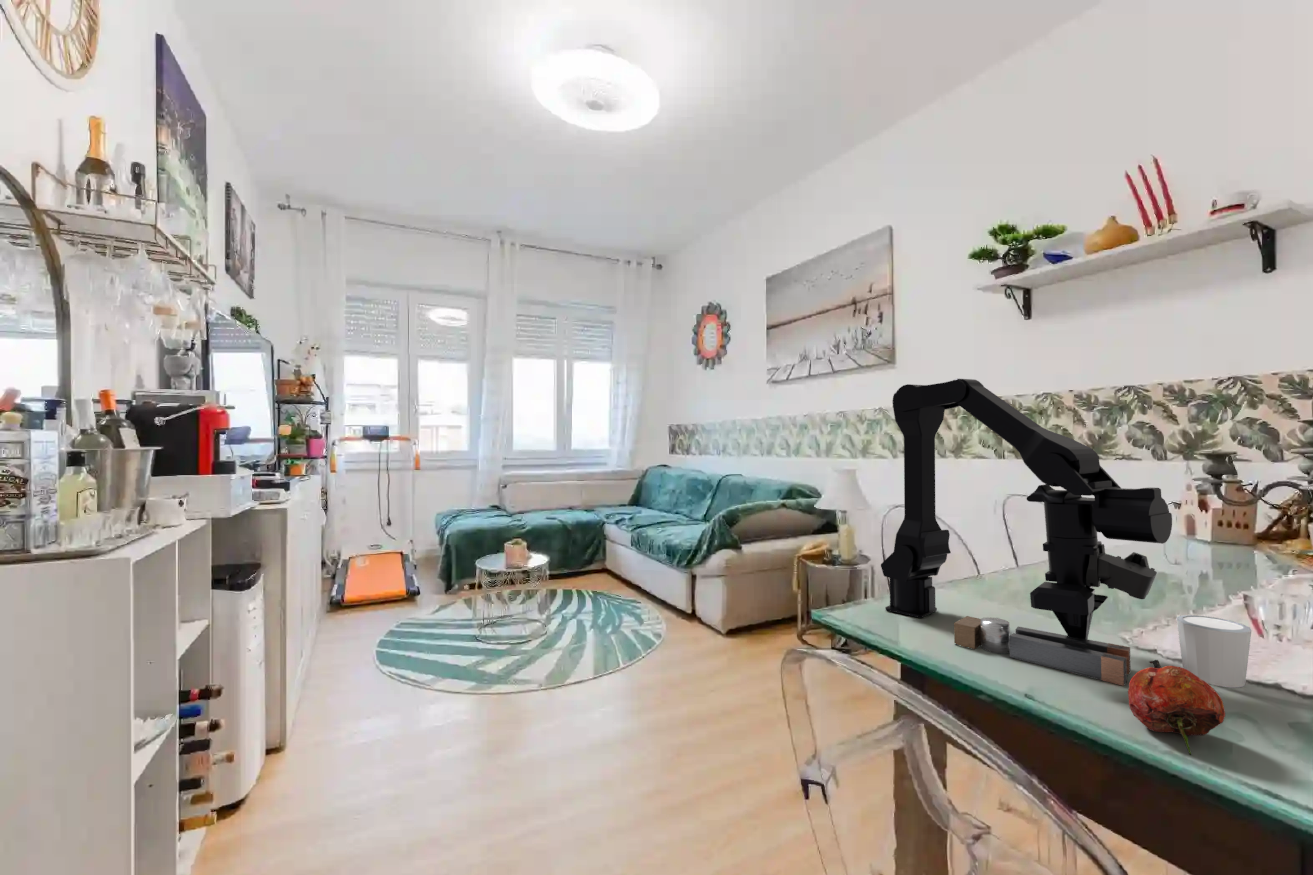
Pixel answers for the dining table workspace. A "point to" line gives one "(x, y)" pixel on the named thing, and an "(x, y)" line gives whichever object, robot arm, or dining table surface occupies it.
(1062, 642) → the bar
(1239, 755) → the dining table surface
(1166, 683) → the wrinkled red fruit
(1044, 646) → the frame
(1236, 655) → the white cup
